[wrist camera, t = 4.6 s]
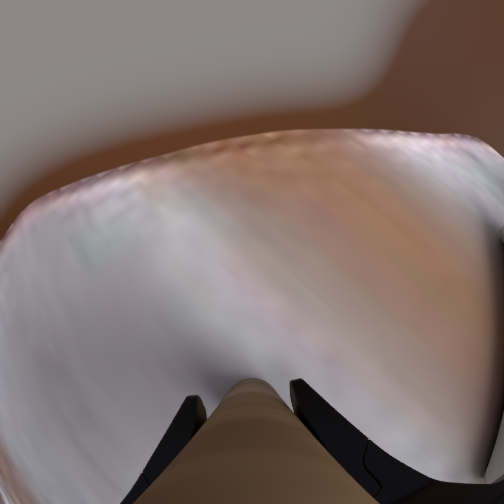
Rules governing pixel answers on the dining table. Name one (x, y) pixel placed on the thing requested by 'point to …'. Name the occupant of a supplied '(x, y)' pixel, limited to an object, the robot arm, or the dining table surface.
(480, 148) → the dining table surface
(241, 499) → the long walnut dowel
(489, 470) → the tube
